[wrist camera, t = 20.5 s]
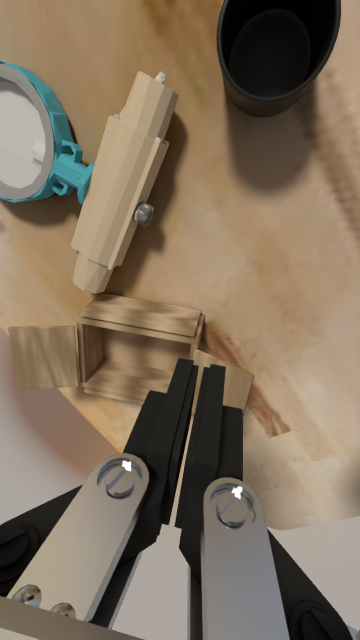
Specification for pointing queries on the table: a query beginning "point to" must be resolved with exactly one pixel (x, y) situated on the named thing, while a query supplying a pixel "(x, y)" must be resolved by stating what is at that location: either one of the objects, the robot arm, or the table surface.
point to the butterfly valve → (93, 181)
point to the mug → (274, 50)
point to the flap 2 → (235, 381)
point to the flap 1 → (44, 356)
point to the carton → (133, 345)
